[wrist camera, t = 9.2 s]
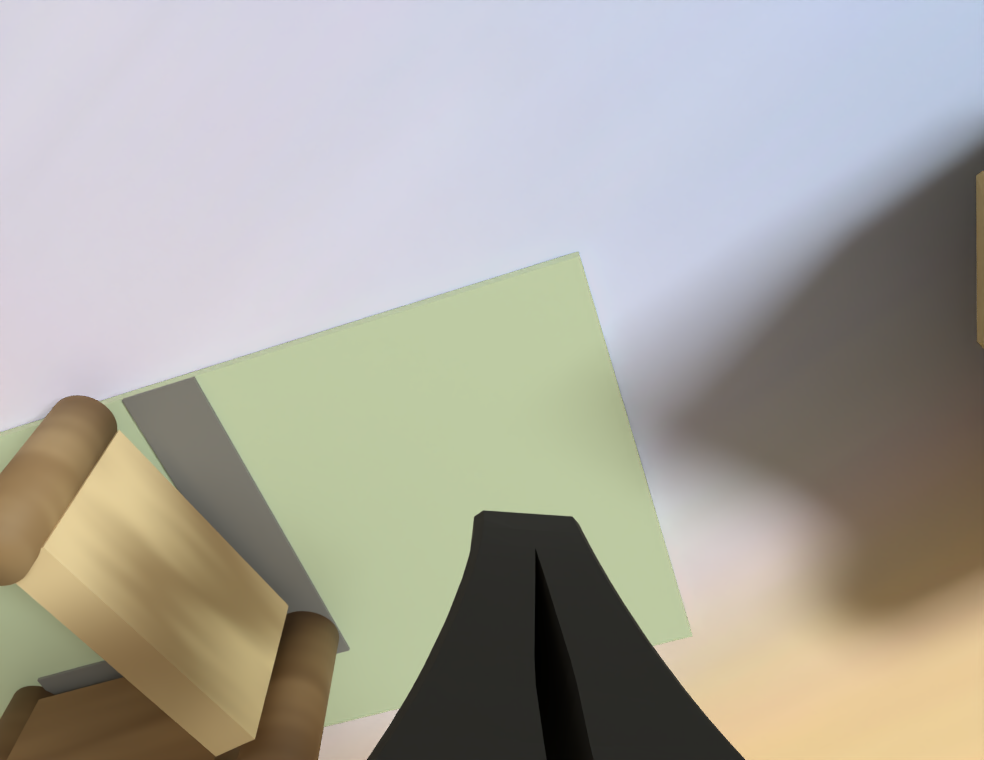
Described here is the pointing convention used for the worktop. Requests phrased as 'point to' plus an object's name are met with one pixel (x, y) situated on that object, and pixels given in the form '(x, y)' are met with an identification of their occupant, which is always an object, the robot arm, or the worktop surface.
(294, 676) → the fixed fence
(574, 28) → the worktop surface
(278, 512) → the board
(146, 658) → the hinged panel
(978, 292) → the low-poly potato
